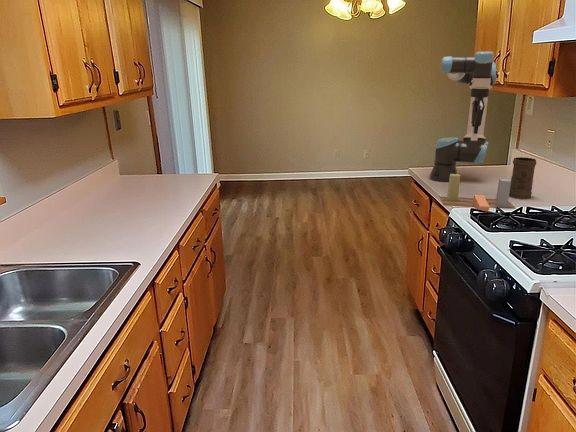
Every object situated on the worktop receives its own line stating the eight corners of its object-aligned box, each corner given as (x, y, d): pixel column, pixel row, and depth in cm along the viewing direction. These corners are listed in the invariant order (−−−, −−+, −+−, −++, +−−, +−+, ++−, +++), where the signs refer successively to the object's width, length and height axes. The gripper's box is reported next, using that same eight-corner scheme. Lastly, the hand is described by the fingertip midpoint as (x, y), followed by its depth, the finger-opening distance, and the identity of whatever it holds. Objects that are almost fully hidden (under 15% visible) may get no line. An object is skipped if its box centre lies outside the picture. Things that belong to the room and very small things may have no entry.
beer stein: (534, 202, 215) (540, 160, 210) (510, 201, 217) (515, 159, 212) (524, 196, 230) (530, 156, 225) (502, 195, 232) (507, 155, 227)
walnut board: (438, 199, 221) (438, 196, 221) (506, 201, 216) (507, 199, 216) (443, 208, 207) (443, 205, 207) (516, 211, 202) (516, 208, 202)
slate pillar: (495, 204, 208) (499, 178, 205) (504, 204, 208) (508, 179, 204) (497, 207, 205) (501, 180, 201) (507, 207, 204) (511, 181, 200)
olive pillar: (447, 198, 218) (449, 173, 214) (456, 198, 218) (458, 174, 214) (448, 200, 214) (451, 175, 211) (457, 201, 214) (460, 176, 210)
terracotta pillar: (474, 194, 207) (479, 206, 197) (483, 195, 206) (489, 206, 196) (472, 202, 209) (478, 214, 198) (482, 202, 208) (487, 214, 198)
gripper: (468, 86, 212) (462, 137, 220) (475, 89, 200) (468, 142, 208) (485, 86, 211) (479, 137, 219) (493, 89, 199) (485, 143, 207)
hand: (473, 140), depth 213 cm, fingers closed
